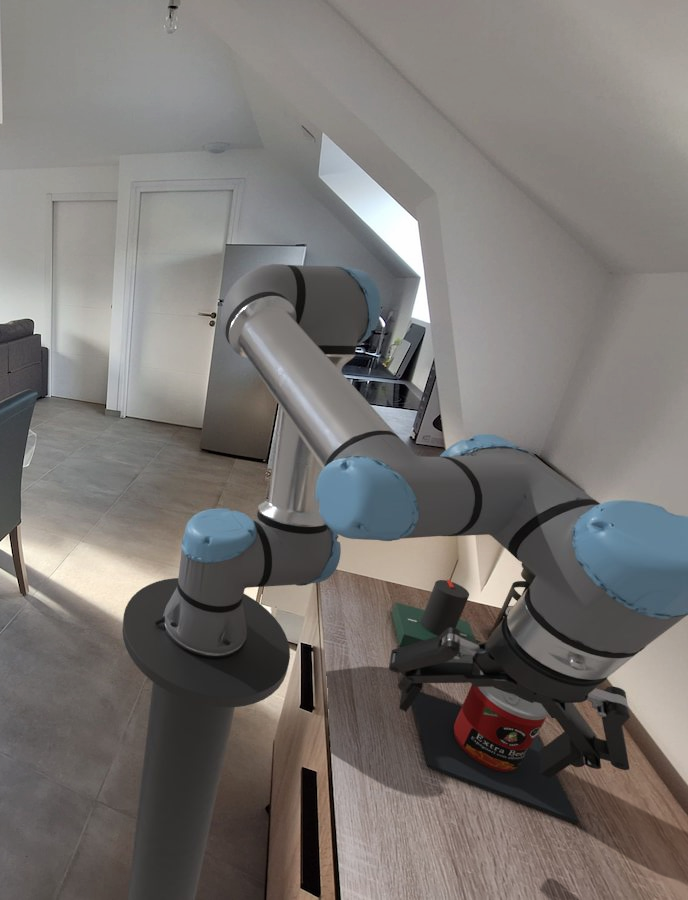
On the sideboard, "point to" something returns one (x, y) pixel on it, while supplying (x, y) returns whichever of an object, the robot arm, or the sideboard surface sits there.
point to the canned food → (497, 727)
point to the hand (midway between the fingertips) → (469, 730)
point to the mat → (454, 761)
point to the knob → (444, 606)
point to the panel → (420, 626)
